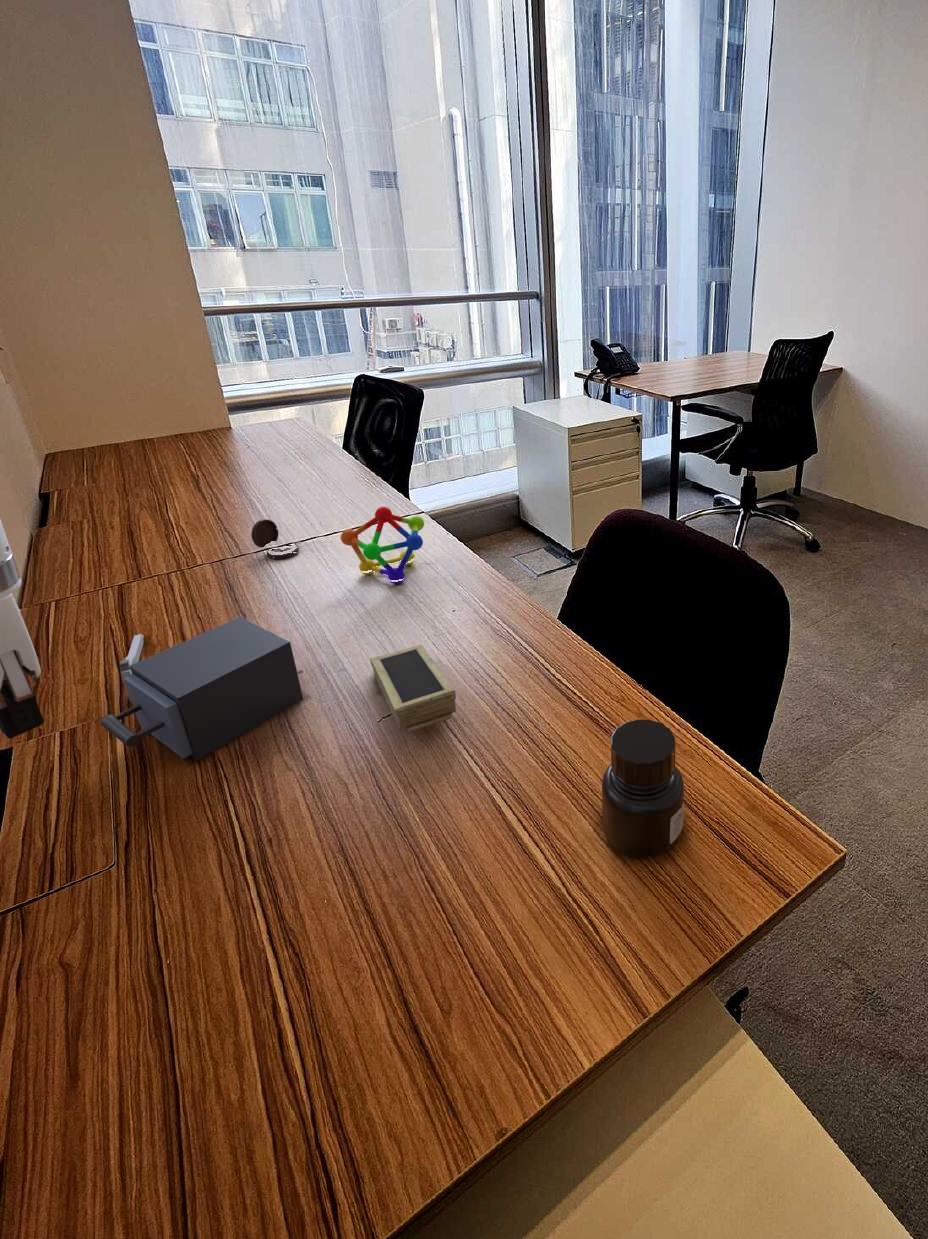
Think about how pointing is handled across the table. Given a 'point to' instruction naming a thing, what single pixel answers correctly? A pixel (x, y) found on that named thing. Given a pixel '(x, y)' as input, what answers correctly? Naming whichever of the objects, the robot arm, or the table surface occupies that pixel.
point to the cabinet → (225, 681)
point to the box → (414, 688)
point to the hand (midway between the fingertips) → (23, 728)
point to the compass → (269, 537)
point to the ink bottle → (642, 790)
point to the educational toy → (374, 551)
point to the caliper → (132, 657)
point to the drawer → (150, 718)
